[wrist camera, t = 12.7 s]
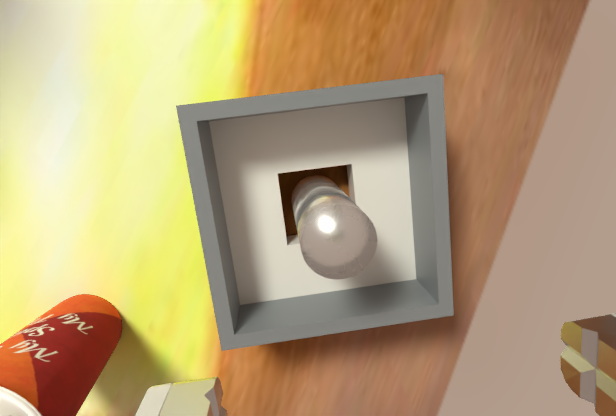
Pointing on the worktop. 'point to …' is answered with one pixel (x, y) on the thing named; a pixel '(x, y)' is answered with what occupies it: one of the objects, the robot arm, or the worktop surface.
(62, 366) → the paper cup
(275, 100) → the box
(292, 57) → the worktop surface
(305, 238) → the peg
